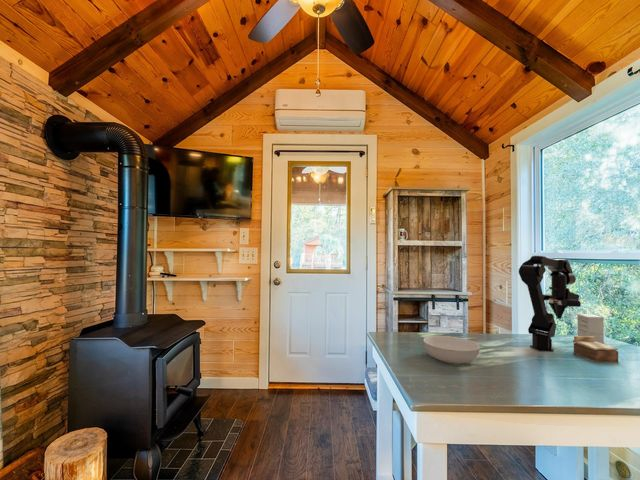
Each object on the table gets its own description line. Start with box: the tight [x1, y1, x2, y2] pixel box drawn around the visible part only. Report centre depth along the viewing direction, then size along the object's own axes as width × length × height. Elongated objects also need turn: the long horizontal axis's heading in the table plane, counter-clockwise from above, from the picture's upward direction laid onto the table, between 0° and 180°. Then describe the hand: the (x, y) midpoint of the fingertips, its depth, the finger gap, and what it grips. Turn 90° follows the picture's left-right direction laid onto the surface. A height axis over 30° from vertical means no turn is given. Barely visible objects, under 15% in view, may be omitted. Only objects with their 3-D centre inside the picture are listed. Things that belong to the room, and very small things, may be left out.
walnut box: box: [573, 342, 619, 363], centre depth 133 cm, size 9×11×4 cm
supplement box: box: [576, 313, 605, 344], centre depth 158 cm, size 7×7×13 cm
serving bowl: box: [422, 335, 481, 364], centre depth 128 cm, size 21×21×7 cm
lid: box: [572, 335, 618, 351], centre depth 134 cm, size 9×11×2 cm
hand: (558, 318), depth 152 cm, fingers closed
